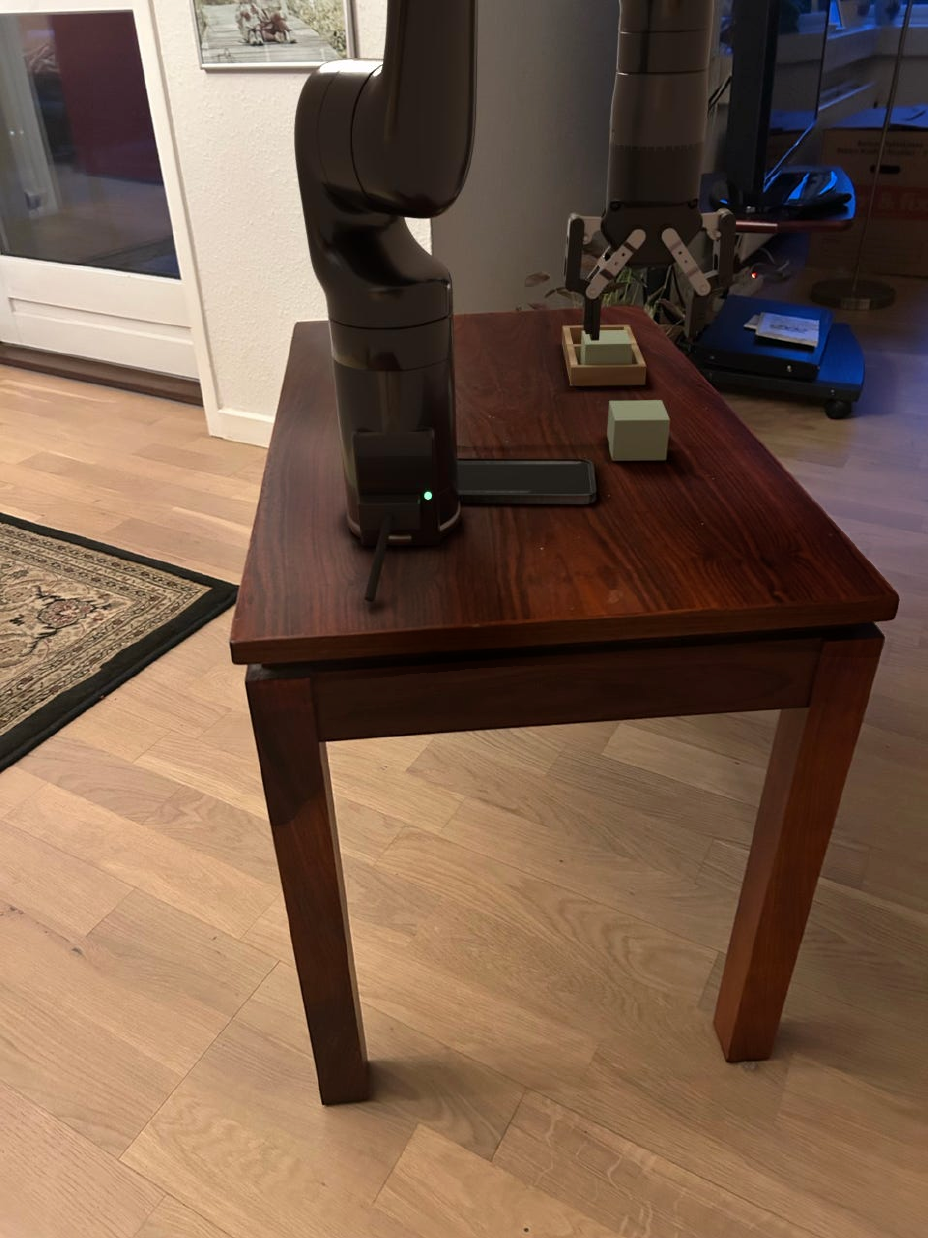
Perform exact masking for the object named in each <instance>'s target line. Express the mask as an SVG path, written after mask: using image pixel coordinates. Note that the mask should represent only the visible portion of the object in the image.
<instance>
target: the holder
mask: <svg viewBox="0 0 928 1238" xmlns="http://www.w3.org/2000/svg"><path fill="white" fill-rule="evenodd" d="M600 330H626V331H627V333H628V336H629V338H630V341H631V343H632V347H631V360H630V364H618V365H580V360H581V338H582V331H584V328H583V325H562V329H561V346H562V349H563V356H564V360H565V364H566V369H567V374H568V380H569V385H570V387H571V386H572V387H575V386H577V387H579V386H580V387H583V386H585V387H586V386H645V385H646V379H647V378H646V377H647V364H646V362H645V359H644V357H643V355H642V352H641V350H640V348H639V344H638V343H637V340H636V337H635V335H634V333H633V331H632V328H631V325H630V324H600Z"/></svg>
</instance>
